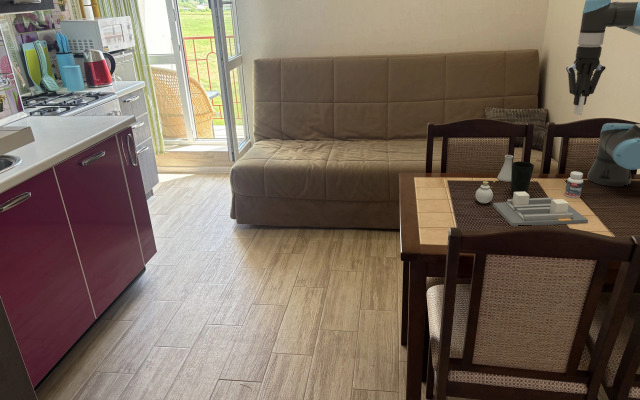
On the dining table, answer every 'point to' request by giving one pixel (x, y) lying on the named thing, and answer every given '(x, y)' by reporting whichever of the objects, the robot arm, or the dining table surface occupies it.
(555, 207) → the tab
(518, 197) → the tab
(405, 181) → the dining table surface
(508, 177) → the flask
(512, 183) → the cup
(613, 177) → the robot arm
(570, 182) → the pill bottle
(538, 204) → the switch board
